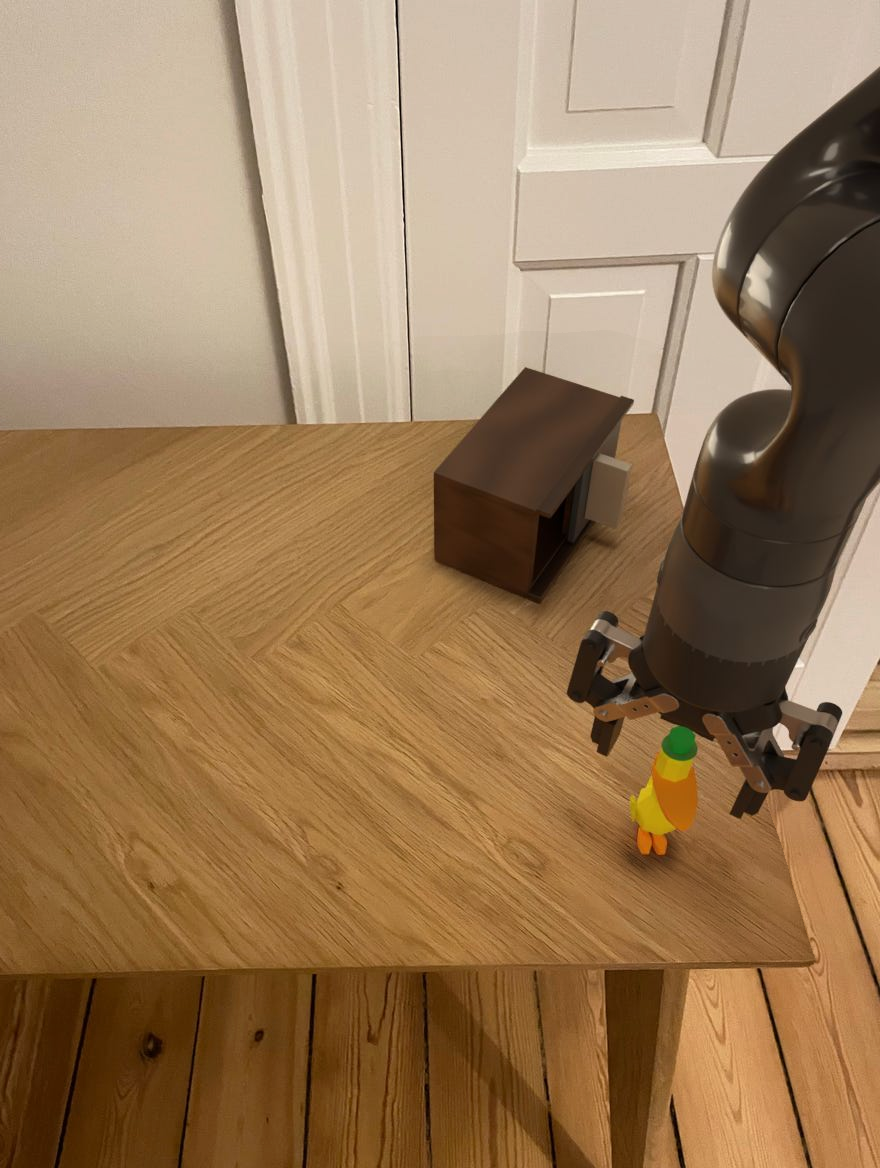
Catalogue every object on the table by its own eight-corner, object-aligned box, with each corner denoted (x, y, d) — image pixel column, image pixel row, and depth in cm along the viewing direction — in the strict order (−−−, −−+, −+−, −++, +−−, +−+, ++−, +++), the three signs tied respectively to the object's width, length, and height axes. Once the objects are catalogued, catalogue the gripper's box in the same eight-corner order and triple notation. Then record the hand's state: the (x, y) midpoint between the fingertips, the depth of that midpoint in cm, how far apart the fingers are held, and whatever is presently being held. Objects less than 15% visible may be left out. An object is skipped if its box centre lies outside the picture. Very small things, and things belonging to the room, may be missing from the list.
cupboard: (617, 491, 89) (634, 399, 81) (539, 604, 81) (550, 514, 73) (518, 455, 93) (525, 364, 85) (434, 560, 84) (433, 470, 77)
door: (640, 502, 87) (656, 427, 80) (605, 555, 83) (619, 480, 76) (603, 489, 88) (615, 413, 82) (566, 540, 84) (577, 465, 78)
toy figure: (685, 890, 64) (726, 797, 55) (631, 890, 65) (662, 798, 55) (669, 800, 69) (704, 701, 59) (618, 801, 69) (645, 701, 60)
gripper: (906, 603, 47) (805, 780, 59) (629, 502, 52) (590, 685, 64) (864, 713, 43) (765, 878, 55) (569, 592, 48) (540, 768, 60)
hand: (671, 774), depth 60 cm, fingers open, 8 cm apart
